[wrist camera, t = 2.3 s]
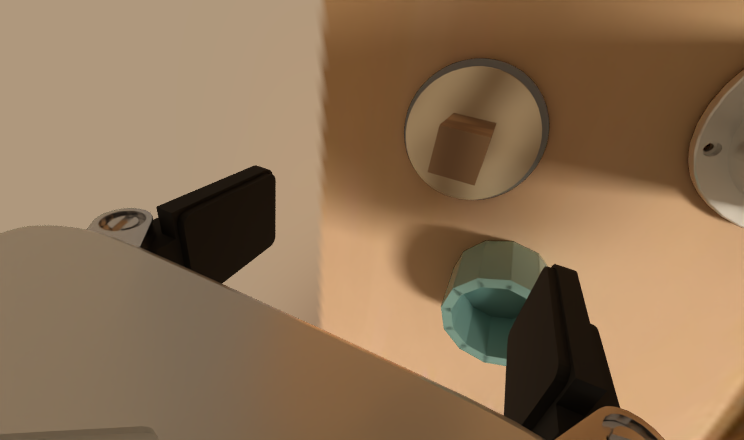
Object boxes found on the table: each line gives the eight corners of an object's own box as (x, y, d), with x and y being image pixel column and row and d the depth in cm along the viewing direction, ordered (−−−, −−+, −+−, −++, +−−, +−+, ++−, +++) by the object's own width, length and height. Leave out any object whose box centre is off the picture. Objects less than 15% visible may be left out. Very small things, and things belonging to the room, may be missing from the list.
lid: (566, 81, 22) (578, 90, 17) (511, 209, 27) (508, 245, 22) (425, 54, 25) (399, 54, 20) (399, 175, 30) (373, 200, 25)
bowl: (573, 300, 29) (582, 351, 24) (486, 327, 34) (480, 374, 29) (518, 224, 28) (516, 261, 23) (437, 263, 33) (421, 301, 28)
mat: (579, 149, 24) (580, 151, 24) (454, 219, 30) (453, 221, 30) (493, 21, 23) (493, 21, 22) (381, 121, 29) (379, 122, 28)
